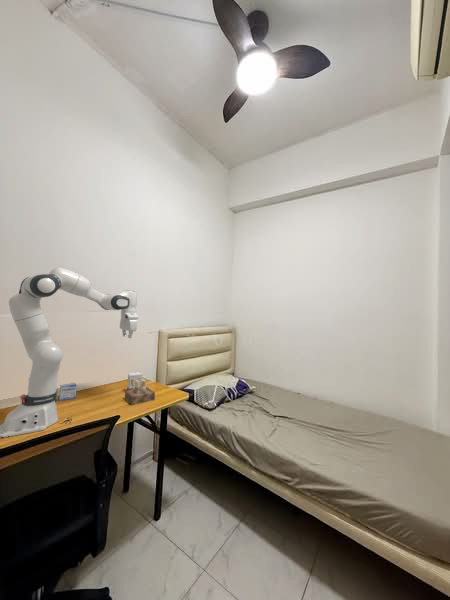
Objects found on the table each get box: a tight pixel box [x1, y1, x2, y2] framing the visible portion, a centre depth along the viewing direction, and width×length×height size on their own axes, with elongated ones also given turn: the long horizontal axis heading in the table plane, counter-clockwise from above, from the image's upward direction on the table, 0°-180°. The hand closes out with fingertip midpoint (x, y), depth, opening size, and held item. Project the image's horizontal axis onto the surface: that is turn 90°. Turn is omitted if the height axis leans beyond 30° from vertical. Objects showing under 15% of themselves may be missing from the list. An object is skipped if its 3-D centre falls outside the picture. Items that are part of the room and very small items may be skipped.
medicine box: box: [59, 382, 77, 402], centre depth 144 cm, size 8×4×9 cm, turn 131°
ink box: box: [126, 371, 143, 391], centre depth 161 cm, size 9×5×12 cm, turn 126°
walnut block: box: [124, 386, 156, 406], centre depth 147 cm, size 14×12×5 cm
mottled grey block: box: [134, 378, 147, 394], centre depth 147 cm, size 5×5×7 cm
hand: (127, 337), depth 151 cm, fingers open, 8 cm apart
